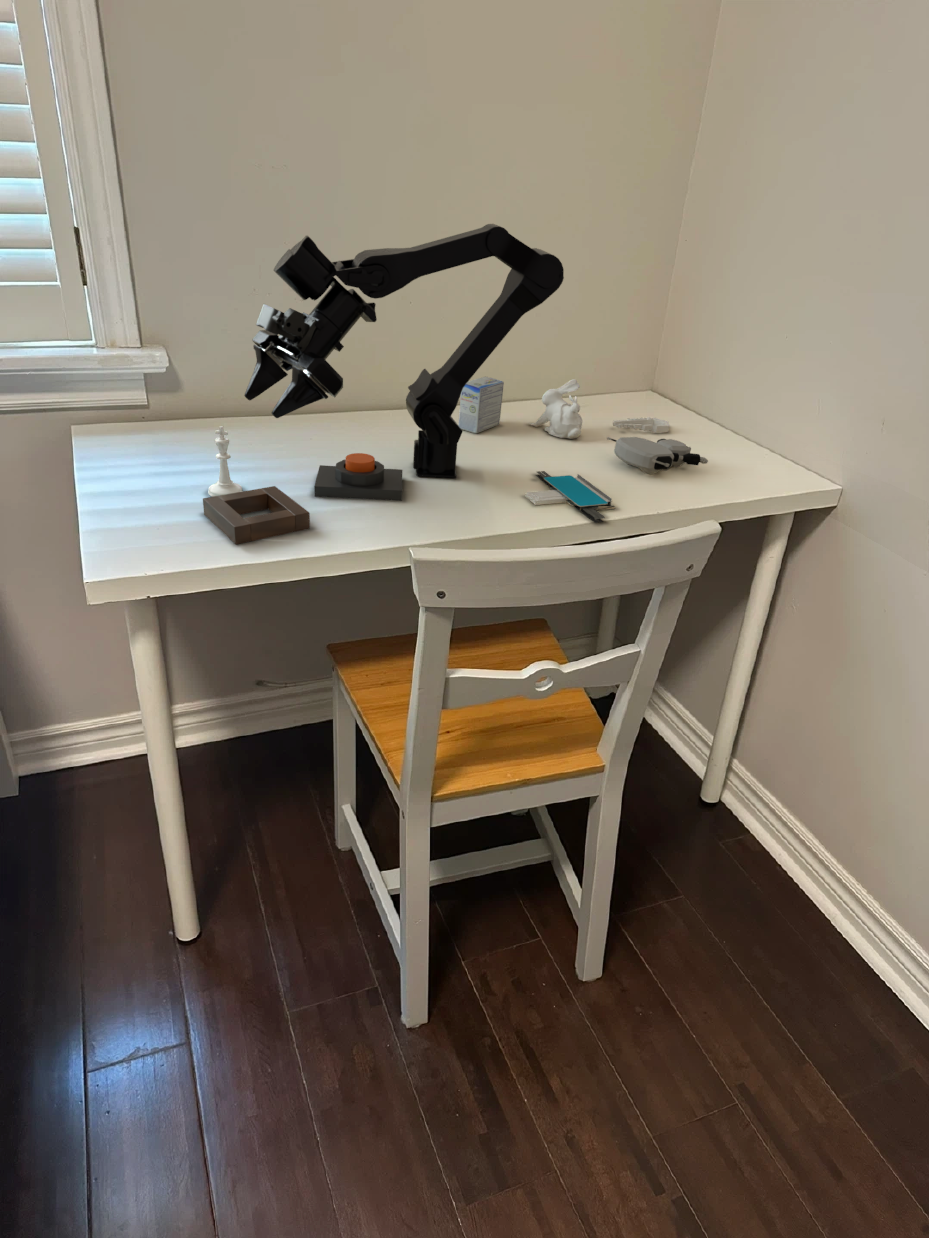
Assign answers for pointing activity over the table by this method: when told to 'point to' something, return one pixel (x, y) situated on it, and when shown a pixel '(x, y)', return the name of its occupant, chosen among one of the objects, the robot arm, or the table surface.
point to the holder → (242, 530)
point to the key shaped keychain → (643, 424)
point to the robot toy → (655, 453)
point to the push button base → (358, 483)
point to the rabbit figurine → (561, 412)
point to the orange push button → (360, 462)
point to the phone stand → (572, 495)
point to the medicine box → (480, 404)
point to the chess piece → (223, 468)
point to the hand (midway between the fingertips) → (260, 407)
